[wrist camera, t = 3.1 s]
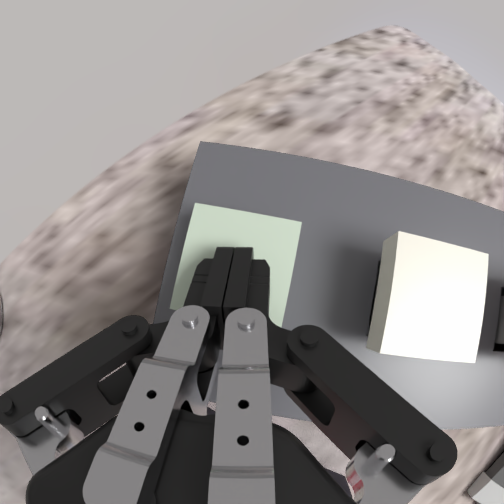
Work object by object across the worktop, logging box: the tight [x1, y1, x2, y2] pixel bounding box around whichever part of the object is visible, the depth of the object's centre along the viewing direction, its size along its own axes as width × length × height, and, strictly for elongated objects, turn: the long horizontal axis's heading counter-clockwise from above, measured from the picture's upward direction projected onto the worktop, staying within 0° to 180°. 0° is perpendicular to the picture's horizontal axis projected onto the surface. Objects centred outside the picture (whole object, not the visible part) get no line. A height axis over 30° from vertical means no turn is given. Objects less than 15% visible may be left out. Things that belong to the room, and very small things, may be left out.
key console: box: [153, 141, 504, 429], centre depth 19 cm, size 26×14×7 cm, turn 78°
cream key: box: [366, 231, 489, 363], centre depth 14 cm, size 5×5×6 cm
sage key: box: [170, 203, 302, 327], centre depth 17 cm, size 5×5×6 cm
